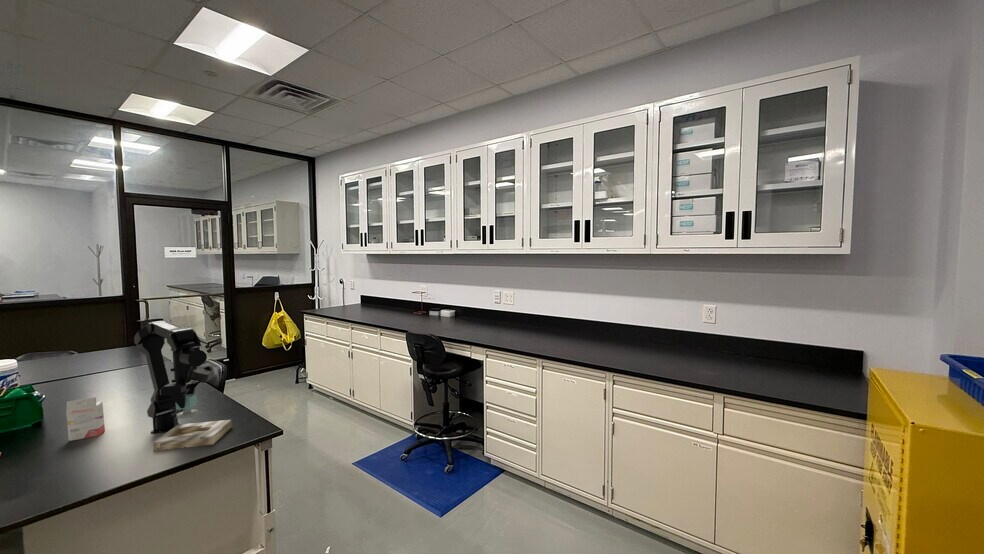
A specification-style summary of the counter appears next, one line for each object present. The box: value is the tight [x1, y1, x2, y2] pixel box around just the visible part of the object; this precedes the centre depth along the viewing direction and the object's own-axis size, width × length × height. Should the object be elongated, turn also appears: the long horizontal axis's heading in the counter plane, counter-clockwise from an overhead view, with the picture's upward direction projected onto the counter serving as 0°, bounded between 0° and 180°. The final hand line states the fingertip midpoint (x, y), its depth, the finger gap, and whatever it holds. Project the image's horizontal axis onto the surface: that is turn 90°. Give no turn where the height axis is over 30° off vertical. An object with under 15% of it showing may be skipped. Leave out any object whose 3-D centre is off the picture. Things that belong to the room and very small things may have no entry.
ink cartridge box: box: [65, 397, 106, 442], centre depth 142 cm, size 9×5×15 cm, turn 117°
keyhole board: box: [152, 419, 232, 451], centre depth 138 cm, size 18×14×3 cm
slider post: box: [176, 393, 199, 419], centre depth 138 cm, size 6×6×7 cm
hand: (186, 405), depth 138 cm, fingers closed on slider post, 4 cm apart
